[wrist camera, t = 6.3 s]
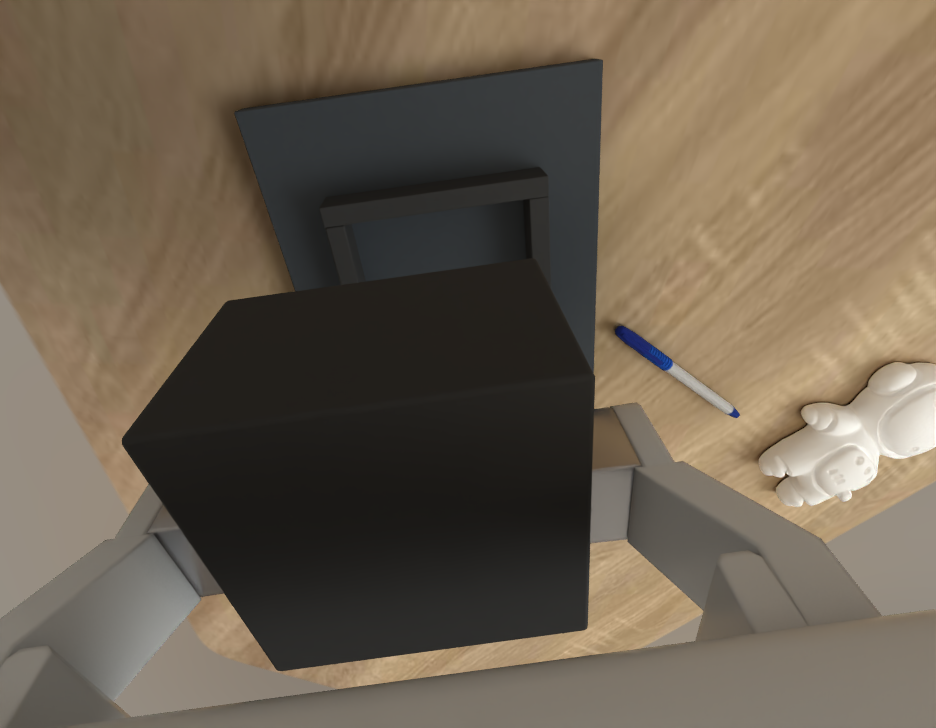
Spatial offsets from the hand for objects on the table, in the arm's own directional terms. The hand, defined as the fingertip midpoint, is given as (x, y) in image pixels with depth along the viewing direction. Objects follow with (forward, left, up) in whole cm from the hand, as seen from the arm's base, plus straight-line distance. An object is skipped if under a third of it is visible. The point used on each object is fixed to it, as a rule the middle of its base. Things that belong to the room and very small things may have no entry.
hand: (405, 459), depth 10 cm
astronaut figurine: (+25, -17, -15) cm, 34 cm away
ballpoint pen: (+13, -11, -15) cm, 23 cm away
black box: (0, 0, -2) cm, 2 cm away
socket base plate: (+1, -3, -15) cm, 15 cm away
